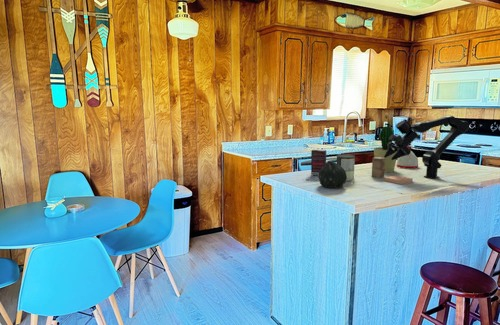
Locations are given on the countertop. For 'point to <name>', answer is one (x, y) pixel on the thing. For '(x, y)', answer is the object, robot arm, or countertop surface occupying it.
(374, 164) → the walnut block
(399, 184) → the bottom slab
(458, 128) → the robot arm
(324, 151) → the supplement box
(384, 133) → the potted cactus
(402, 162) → the knit hat
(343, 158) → the coffee can
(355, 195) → the countertop surface
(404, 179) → the top slab
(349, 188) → the countertop surface
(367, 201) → the countertop surface
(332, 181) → the squash
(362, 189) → the countertop surface
